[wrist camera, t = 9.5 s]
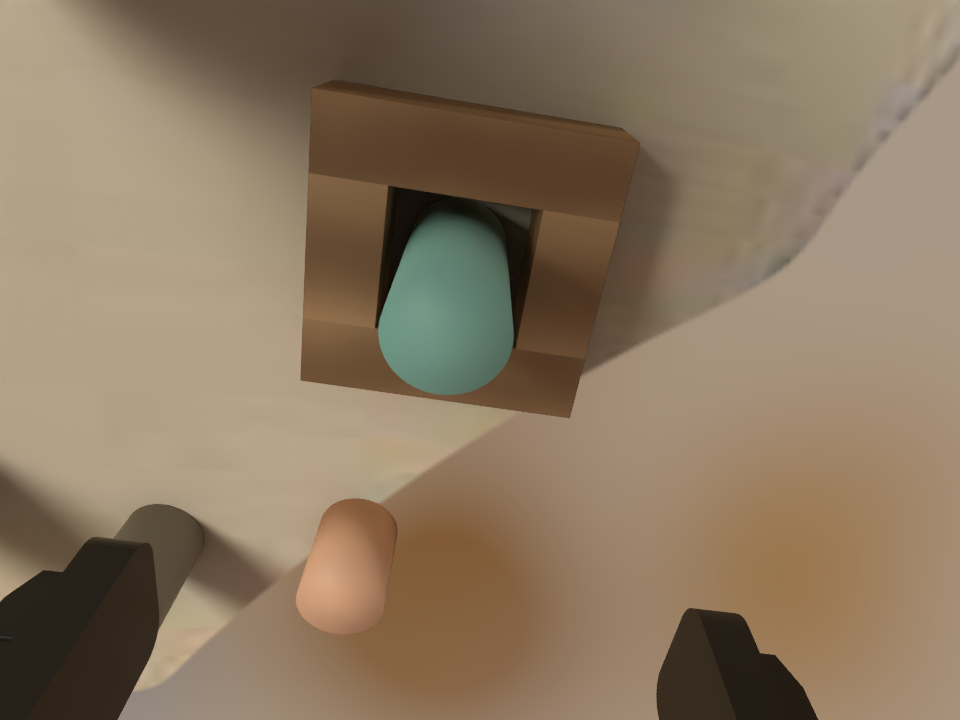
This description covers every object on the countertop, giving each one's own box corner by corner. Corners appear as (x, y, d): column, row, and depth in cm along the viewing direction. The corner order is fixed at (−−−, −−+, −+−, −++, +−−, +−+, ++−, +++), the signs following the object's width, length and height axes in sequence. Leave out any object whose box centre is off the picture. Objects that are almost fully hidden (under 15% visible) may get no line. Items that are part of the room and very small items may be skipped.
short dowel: (322, 493, 34) (297, 565, 29) (401, 504, 34) (387, 576, 29) (318, 553, 35) (294, 629, 31) (393, 562, 36) (380, 639, 31)
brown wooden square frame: (333, 79, 25) (311, 87, 22) (621, 128, 25) (640, 142, 22) (320, 343, 30) (300, 380, 27) (561, 377, 30) (569, 418, 27)
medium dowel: (415, 190, 27) (384, 261, 19) (514, 206, 27) (525, 283, 19) (405, 283, 28) (372, 385, 20) (497, 297, 29) (501, 403, 21)
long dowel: (123, 499, 34) (-67, 747, 22) (203, 509, 34) (56, 760, 23) (129, 558, 36) (-43, 815, 24) (205, 567, 36) (70, 827, 24)
